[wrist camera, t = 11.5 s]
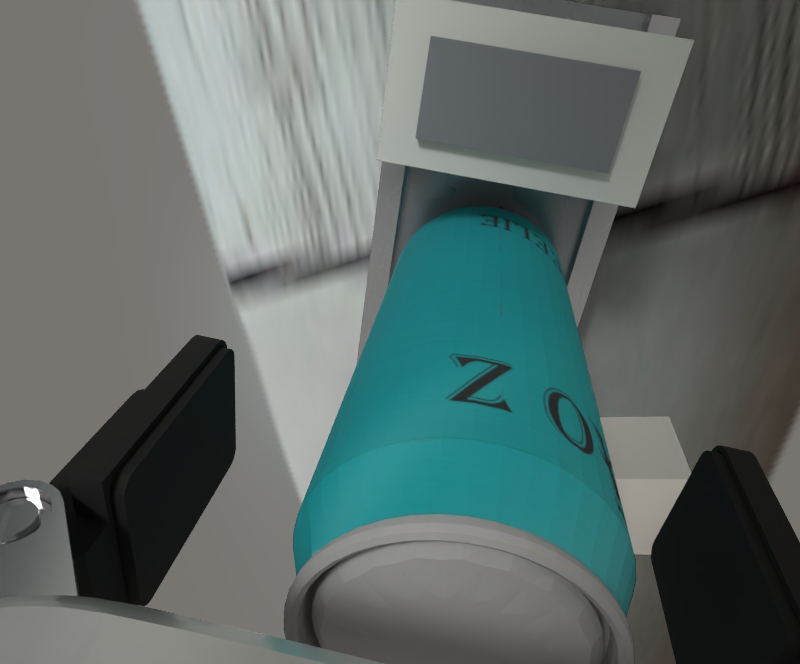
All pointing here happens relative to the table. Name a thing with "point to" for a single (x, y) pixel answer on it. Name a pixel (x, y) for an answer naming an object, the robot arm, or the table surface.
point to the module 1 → (527, 98)
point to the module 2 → (645, 473)
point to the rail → (500, 188)
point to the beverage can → (467, 471)
